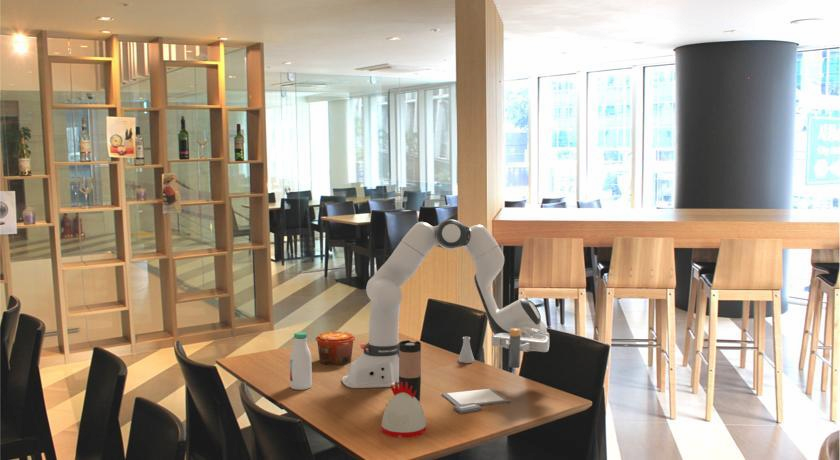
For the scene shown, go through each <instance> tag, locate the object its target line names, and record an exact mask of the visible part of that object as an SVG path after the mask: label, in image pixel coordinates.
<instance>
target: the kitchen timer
mask: <svg viewBox="0 0 840 460" xmlns="http://www.w3.org/2000/svg"><path fill="white" fill-rule="evenodd" d="M390 389H391V391H392V393H393V396H392V397H391V398H390V399H389V401H388V402H387V403H386V404H385V409H384V412H383V415H382V419H381V427H380V431H381V432H382V433H383V434H385V435H386V436H389V437H392V438H393V437H394V438H402V439H403V438H404V439H405V438H416V437H419V436H422V435H423V434H425V433H426V432H427V420H426V419H427V418H426V416H425V412H424V410H423V406H422V405H421V402H419V401H420V400H419V401H418V400H417V399H416V398H415V397H414V396H415V394H416V391H417V390H416V391H415V392H414V394H412V393H411V390H412V386H411V387H410V389H409V390H408V384H407V382H406V384H405V388H403V382H401V385H400V389H399V383H397V382H395V385H394V386H392V385H391V387H390Z"/></svg>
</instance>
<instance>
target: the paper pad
mask: <svg viewBox="0 0 840 460" xmlns="http://www.w3.org/2000/svg"><path fill="white" fill-rule="evenodd" d="M441 396H443V397H444V398H445V399H447V401H449V402H450V403H451V404H452V405H453V406H458V405H463V404H469V403H475V404H477V405H479V406H488V405H496V404H504V403H510V400H509V399H507V398H506V397H504V396H503V395H502V394H500V393H498V391H496V390H494V389H492V388H482V389H481V388H480V389H473V390H462V391H461V390H460V391H453V392H444V393H443V392H442V393H441Z"/></svg>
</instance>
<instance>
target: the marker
mask: <svg viewBox="0 0 840 460" xmlns="http://www.w3.org/2000/svg"><path fill="white" fill-rule="evenodd" d="M520 336H521V329H517V328H512V329H510V349H509V364H508V365H509V368H513V369H517V368H521V351H520V350H519V345H520Z"/></svg>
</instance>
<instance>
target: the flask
mask: <svg viewBox="0 0 840 460" xmlns="http://www.w3.org/2000/svg"><path fill="white" fill-rule="evenodd" d="M462 340H463V342H462V347H461V351H460V353H459V355H458V358H457V361H458V363H462V364H472V363H475V362H476V360H475V358H474V355H473V351H472V348H471V343H470V342H471V337H470V336H463V337H462Z"/></svg>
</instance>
